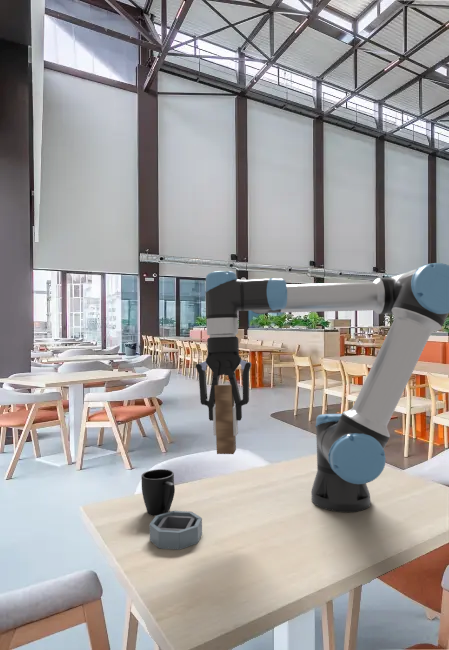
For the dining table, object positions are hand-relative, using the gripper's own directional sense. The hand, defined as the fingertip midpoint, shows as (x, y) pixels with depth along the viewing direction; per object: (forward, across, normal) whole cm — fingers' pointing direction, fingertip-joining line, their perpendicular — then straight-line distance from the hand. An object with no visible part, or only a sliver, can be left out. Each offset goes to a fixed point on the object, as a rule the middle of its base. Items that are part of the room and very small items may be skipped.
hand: (225, 433), depth 101 cm
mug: (+21, +18, -4) cm, 28 cm away
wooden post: (+4, 0, 0) cm, 4 cm away
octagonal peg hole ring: (+21, +11, +8) cm, 25 cm away
